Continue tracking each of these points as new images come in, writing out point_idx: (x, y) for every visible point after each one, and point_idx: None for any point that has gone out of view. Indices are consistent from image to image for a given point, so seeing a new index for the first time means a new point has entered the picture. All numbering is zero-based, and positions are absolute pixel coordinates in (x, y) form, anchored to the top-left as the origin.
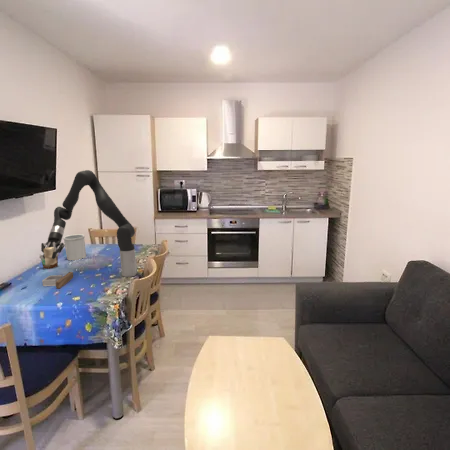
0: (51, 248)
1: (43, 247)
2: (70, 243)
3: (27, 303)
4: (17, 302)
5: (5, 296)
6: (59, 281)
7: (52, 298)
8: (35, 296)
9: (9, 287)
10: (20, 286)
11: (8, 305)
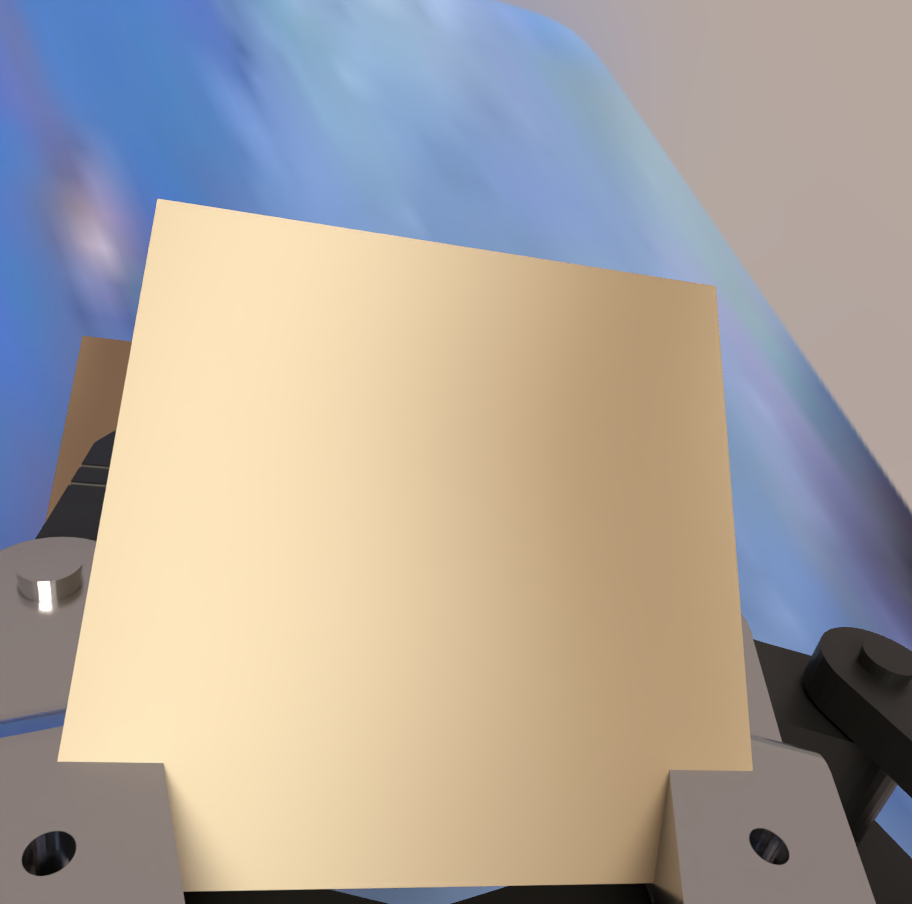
0: (179, 361)
1: None
2: None
3: (355, 8)
4: (486, 64)
5: (729, 260)
6: (83, 372)
7: (91, 60)
8: (359, 176)
9: (885, 553)
10: (766, 571)
11: (539, 18)
